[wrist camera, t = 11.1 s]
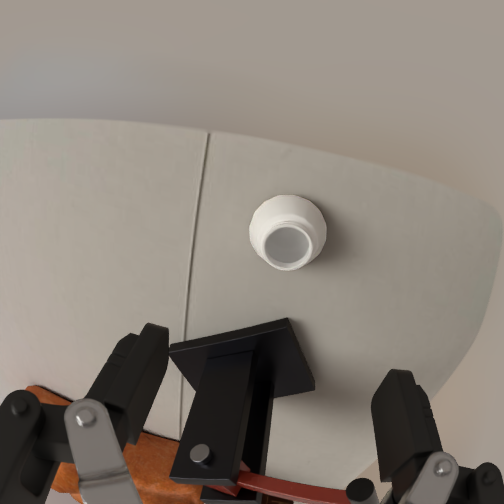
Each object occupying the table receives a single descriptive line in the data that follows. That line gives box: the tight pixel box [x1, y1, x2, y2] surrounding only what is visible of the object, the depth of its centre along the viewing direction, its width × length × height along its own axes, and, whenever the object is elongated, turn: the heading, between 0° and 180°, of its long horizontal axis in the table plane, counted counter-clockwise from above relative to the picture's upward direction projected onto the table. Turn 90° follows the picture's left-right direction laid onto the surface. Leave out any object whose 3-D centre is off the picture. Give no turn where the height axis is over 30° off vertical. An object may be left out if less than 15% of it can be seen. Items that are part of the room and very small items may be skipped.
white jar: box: [249, 195, 327, 271], centre depth 20 cm, size 5×3×5 cm
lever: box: [205, 460, 379, 504], centre depth 16 cm, size 12×5×2 cm, turn 113°
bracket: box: [169, 318, 315, 504], centre depth 22 cm, size 11×8×13 cm
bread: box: [25, 386, 204, 504], centre depth 34 cm, size 16×31×13 cm, turn 77°
